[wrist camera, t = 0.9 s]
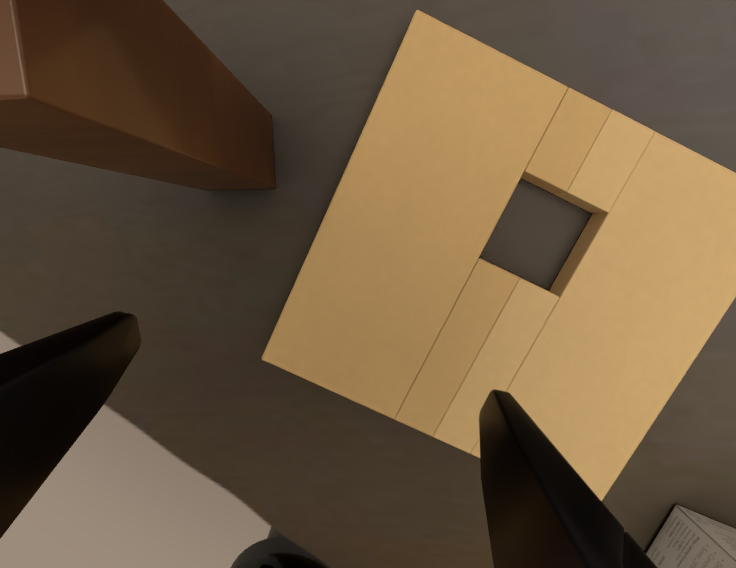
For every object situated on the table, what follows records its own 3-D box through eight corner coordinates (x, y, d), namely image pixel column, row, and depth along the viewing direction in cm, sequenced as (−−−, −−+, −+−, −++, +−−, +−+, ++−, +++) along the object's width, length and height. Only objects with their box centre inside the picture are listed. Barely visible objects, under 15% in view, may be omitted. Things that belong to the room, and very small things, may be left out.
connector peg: (276, 188, 21) (27, 97, 6) (207, 190, 21) (-207, 105, 6) (271, 114, 20) (-19, -195, 5) (200, 116, 20) (-280, -181, 5)
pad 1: (428, 423, 23) (432, 437, 21) (268, 350, 22) (260, 359, 21) (595, 117, 20) (612, 109, 18) (413, 24, 19) (416, 8, 18)
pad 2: (581, 492, 23) (595, 511, 22) (428, 423, 23) (432, 437, 21) (766, 205, 20) (797, 203, 19) (595, 117, 20) (612, 109, 18)
